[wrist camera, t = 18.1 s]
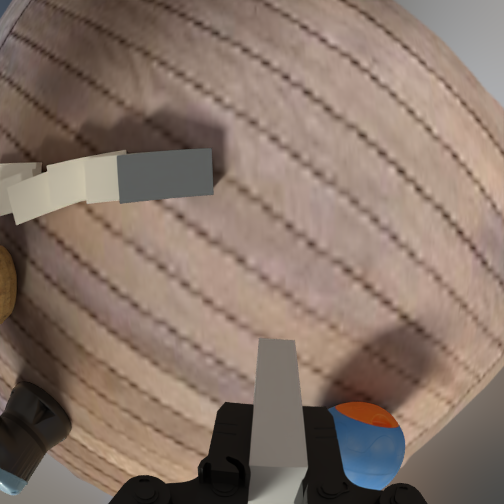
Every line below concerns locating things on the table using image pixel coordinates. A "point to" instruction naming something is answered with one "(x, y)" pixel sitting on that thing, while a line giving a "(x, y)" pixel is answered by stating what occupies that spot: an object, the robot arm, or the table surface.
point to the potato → (7, 284)
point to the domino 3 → (31, 198)
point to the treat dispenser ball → (368, 443)
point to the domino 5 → (101, 179)
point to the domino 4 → (70, 180)
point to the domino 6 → (165, 175)
